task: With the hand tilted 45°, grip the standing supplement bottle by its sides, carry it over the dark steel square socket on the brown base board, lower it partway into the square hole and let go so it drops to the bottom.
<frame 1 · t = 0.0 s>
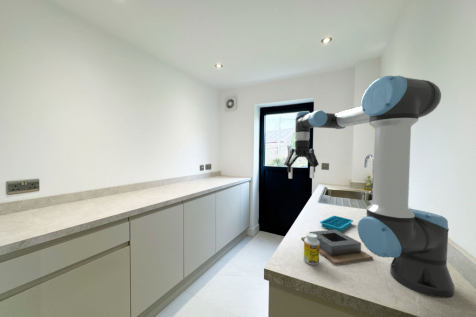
hand: (301, 178, 107), 28 cm above the countertop, tool pointing down, fingers open, 13 cm apart
ice cube tray: (336, 226, 112), on the countertop
square socket: (333, 241, 84), on the brown base board, point 3 cm above the countertop
supplement bottle: (311, 261, 73), on the countertop
brown base board: (333, 248, 84), on the countertop
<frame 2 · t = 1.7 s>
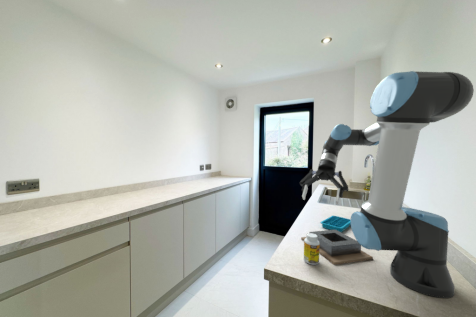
hand: (319, 200, 82), 22 cm above the countertop, tool tilted 45°, fingers open, 13 cm apart
nothing on the countertop moved.
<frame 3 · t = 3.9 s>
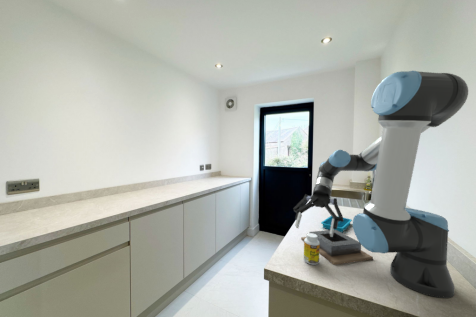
hand: (312, 230, 78), 10 cm above the countertop, tool tilted 45°, fingers open, 13 cm apart
nothing on the countertop moved.
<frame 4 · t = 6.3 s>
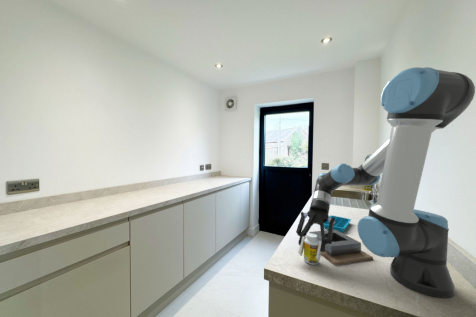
hand: (308, 256, 70), 3 cm above the countertop, tool tilted 45°, fingers closed on supplement bottle, 5 cm apart
supplement bottle: (311, 261, 73), on the countertop, touching gripper
everything else where it was.
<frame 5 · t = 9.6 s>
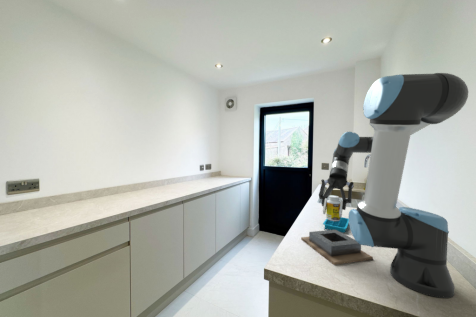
hand: (332, 213, 80), 16 cm above the countertop, tool tilted 45°, fingers closed on supplement bottle, 5 cm apart
supplement bottle: (333, 219, 83), point 13 cm above the countertop, touching gripper
when the fingers open (7 cm above the countertop, at t = 12.7 s): supplement bottle drops 2 cm, resting on brown base board.
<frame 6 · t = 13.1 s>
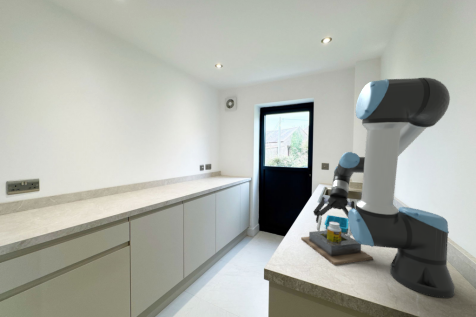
hand: (332, 233, 82), 8 cm above the countertop, tool tilted 45°, fingers open, 11 cm apart
supplement bottle: (333, 246, 84), point 1 cm above the countertop, touching brown base board
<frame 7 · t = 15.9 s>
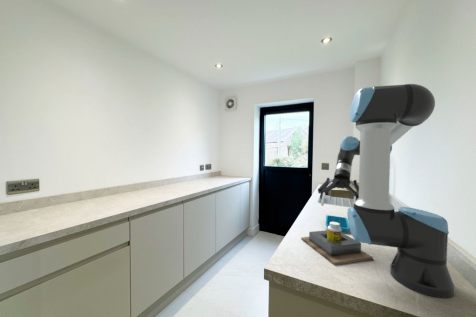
hand: (337, 206, 91), 16 cm above the countertop, tool tilted 45°, fingers open, 13 cm apart
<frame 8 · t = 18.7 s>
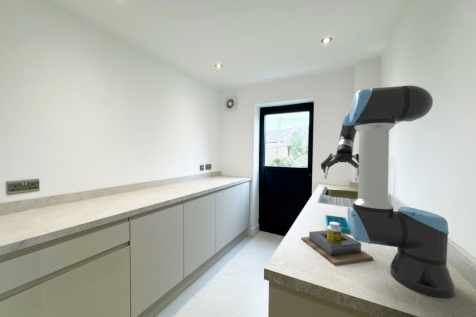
hand: (340, 178, 94), 30 cm above the countertop, tool tilted 45°, fingers open, 13 cm apart
at the end: supplement bottle 0.2 cm off-centre on the square socket, point 0.8 cm above the square socket's base; supplement bottle tilted 0°; the gripper is holding nothing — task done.
